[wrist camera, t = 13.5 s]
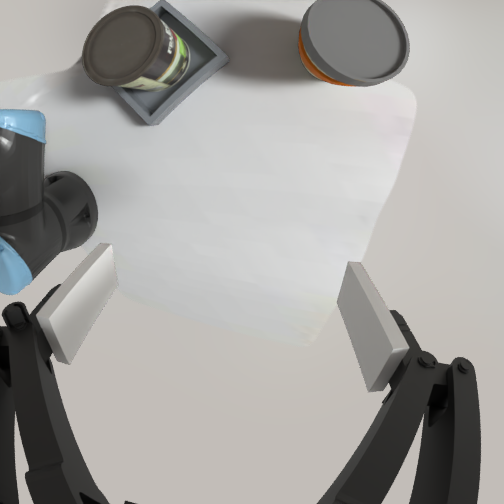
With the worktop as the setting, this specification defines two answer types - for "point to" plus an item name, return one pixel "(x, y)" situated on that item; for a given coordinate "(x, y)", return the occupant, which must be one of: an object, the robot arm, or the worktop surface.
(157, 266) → the worktop surface
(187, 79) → the housing tray
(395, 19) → the reusable coffee cup
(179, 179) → the worktop surface
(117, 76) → the coffee can
